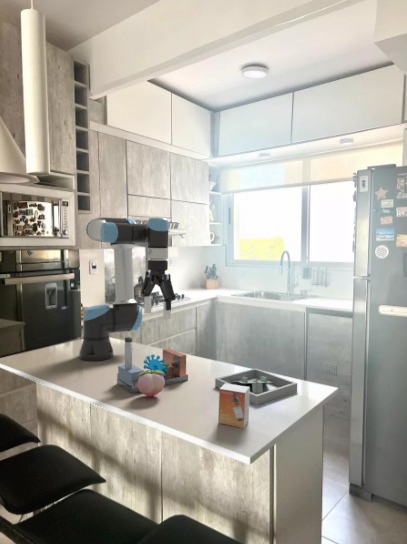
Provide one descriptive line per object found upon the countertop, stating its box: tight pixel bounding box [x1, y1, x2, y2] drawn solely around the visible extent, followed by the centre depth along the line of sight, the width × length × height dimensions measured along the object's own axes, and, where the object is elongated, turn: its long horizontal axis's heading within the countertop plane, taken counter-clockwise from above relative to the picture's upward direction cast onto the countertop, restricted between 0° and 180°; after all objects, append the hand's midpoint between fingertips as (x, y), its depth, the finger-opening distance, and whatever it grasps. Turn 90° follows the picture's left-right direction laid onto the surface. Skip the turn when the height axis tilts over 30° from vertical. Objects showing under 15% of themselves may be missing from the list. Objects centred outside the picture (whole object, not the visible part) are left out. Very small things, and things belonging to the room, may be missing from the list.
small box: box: [217, 383, 251, 429], centre depth 116 cm, size 8×6×10 cm
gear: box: [143, 354, 170, 377], centre depth 151 cm, size 11×6×10 cm
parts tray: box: [214, 368, 298, 406], centre depth 144 cm, size 21×21×3 cm
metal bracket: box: [232, 376, 273, 394], centre depth 146 cm, size 14×6×15 cm
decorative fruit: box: [137, 370, 165, 398], centre depth 135 cm, size 9×8×10 cm
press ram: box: [117, 336, 145, 387], centre depth 143 cm, size 10×5×16 cm, turn 39°
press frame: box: [116, 347, 189, 395], centre depth 149 cm, size 12×24×10 cm, turn 129°
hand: (157, 315), depth 149 cm, fingers open, 13 cm apart
